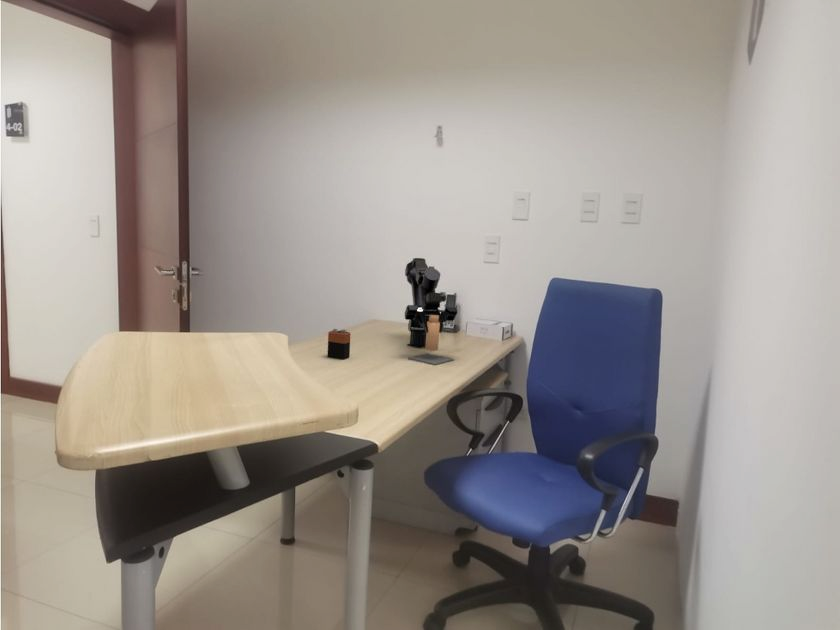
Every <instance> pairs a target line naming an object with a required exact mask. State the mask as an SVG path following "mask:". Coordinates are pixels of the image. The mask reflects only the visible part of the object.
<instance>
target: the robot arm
mask: <svg viewBox="0 0 840 630" xmlns="http://www.w3.org/2000/svg"><path fill="white" fill-rule="evenodd" d="M426 262H427V261H426V258H421V257H414V258H412V261H409V262H408V263H407V264H406V266H405V271H404V276H405V277H406V281H407V283H409V284H410V286H411V293H412V303H413V304H408V305H407V306H406V308H405V310H404V319H405V320H406V321H407V320H408V325H407V330H408V331H409V332H410V334H409V335H410V337H409V343H407V345H406V346H409V347H414V348H418V349H419V348H420V349H421V348H425V346H426V333H427V332H428V327H427V321H429V315H431V314H433V315H439V320H438V322H440V330H439V334H440V333H441V334H442V331H443V326H444V323H446V322H453V321H455V319H456V316H457V315H458V308H457V307H456V306H445V308H444V309H439V308H441V303H442V302H443V303H445V301H447V294H446V291H445V292H444V291H440V292H436V289H437V287H438V284H439V281H440V280H441V279H440V278H441V272H440V271H439V270H437V269H436V268H435V266H428V264H427V263H426Z"/></svg>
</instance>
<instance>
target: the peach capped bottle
mask: <svg viewBox="0 0 840 630" xmlns="http://www.w3.org/2000/svg"><path fill="white" fill-rule="evenodd" d="M438 320H439V315H433V314H431V315H429V321H427V327H428V332H427V333H426V346H425V347H424V349H425V350H426V351H430V352H431V351H432V352H435V351H438V350H439V339H440V332H439V330H440V322H438Z"/></svg>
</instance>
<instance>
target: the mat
mask: <svg viewBox="0 0 840 630" xmlns="http://www.w3.org/2000/svg"><path fill="white" fill-rule="evenodd" d="M407 359H408V360H410V359H411V361H414V360H415V362H420V363H423V362H424V363H425V364H427V363H428V365H431V364H432V365H433V366H437V365H442V364H446V363H450V362H453V361H455V359H454V358H450V357H446V356H442V355H437V354H434V353H433V354H432V353H422V354H418V355H413V356H409V357H407ZM445 362H446V363H445Z"/></svg>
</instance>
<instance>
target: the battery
mask: <svg viewBox="0 0 840 630" xmlns="http://www.w3.org/2000/svg"><path fill="white" fill-rule="evenodd" d="M327 333H328V334H327V335H328V338H327V353H326V354H327V357H328V358H332V359H339V360H346V359H349V358H350V354H351V352H350V351H351V332H350V331H348V330H347V329H340V330H338V329H337V328H333V329H332V330H331V331H328V332H327Z"/></svg>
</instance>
